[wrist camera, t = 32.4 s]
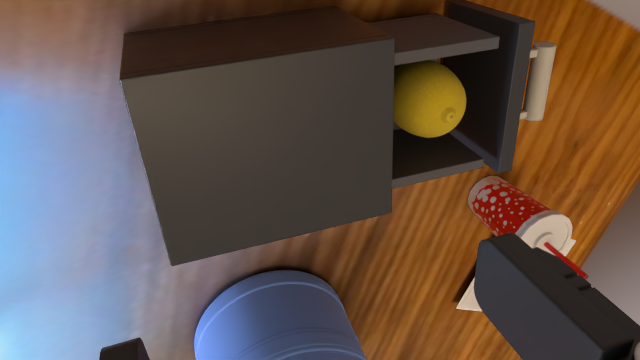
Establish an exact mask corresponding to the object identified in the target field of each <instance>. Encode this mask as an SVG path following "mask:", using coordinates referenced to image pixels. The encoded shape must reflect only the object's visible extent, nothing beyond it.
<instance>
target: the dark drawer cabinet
mask: <svg viewBox="0 0 640 360" xmlns="http://www.w3.org/2000/svg"><path fill="white" fill-rule="evenodd" d="M394 61H395V38H394V37H392V36H390V35H389V34H387V33H385V32H383V31H381V30H379V29H377V28H375V27H374V26H372V25H370V24H368V23H366V22H364V21H362V20H360V19H358V18H356V17H355V16H353V15H351V14H349V13H347V12H345V11H343V10H341V9H339V8H338V7H336V6H332V7H324V8H316V9H309V10H301V11H293V12H286V13H278V14H270V15H262V16H255V17H247V18H239V19H232V20H224V21H216V22H208V23H201V24H193V25H185V26H177V27H170V28H162V29H154V30H147V31H139V32H131V33H124V39H123V49H122V59H121V69H120V80H119V81H120V84H121V88H122V91H123V95H124V98H125V102H126V106H127V109H128V113H129V116H130V120H131V124H132V127H133V131H134V134H135V138H136V142H137V145H138V149H139V152H140V156H141V159H142V163H143V167H144V170H145V174H146V177H147V181H148V185H149V188H150V192H151V195H152V199H153V203H154V206H155V210H156V213H157V217H158V220H159V224H160V228H161V231H162V235H163V238H164V242H165V246H166V249H167V253H168V256H169V260H170V264H171V266H175V265H179V264H183V263H187V262H191V261H195V260H200V259H204V258H208V257H212V256H216V255H220V254H224V253H228V252H232V251H237V250H241V249H245V248H249V247H253V246H257V245H261V244H265V243H269V242H274V241H278V240H282V239H286V238H290V237H294V236H298V235H302V234H306V233H311V232H315V231H319V230H323V229H327V228H331V227H335V226H339V225H343V224H348V223H352V222H356V221H360V220H364V219H368V218H372V217H376V216H380V215H385V214H389V213H391V212H392V166H393V113H394Z"/></svg>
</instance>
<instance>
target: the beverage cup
mask: <svg viewBox="0 0 640 360" xmlns="http://www.w3.org/2000/svg"><path fill="white" fill-rule="evenodd" d="M468 205H469V207H470V209H471V210H472V211H473V212H474V213H475V215H476V216H477V217H478V218H479V219H480V220H481V221H482V222H483V223H484V224H485V225H486V226H487V227H488V229H489V230H490V231H491V232H492V233H493V234H494V235H495V236H499V235H502V234H506V233H514V234H516V235H517V236H519V237H520V238H521V239H522V240H523V241H524V242H525V243H527V244H528V245H529V246H530V247H531V248H535V247H538V248H540V249H542V250H545V251H547V252H549V253H551V254H553V255H555V256H557V257H559V258H560V259H562V260H563V261H564V262H565V263H566V264H567V265H569V266H570V267H571V268H572V269H573V270H574V271H576V273H577V274H578V275H580V276H581V277H583V278H584V279H587V278H588V275H587V274H586V273H585V272H583V271H582V270H581V269H580V268H578V267H577V266H576V265H575V264H574V263H572V262H571V261H570V260H569V259H568V258H566V257H565V256H564V255H563V254H562V253H561V252H562V251H563V250H564V249H565V248H566V246H567V244H568V242H569V240H570V238H571V235H572V224H571V222H570V219H569V218H568V217H566V216H564V215H563V214H561V213H559V212H558V211H556V210H550V209H549V208H547V207H545V206H544V205H542V204H541V203H539V202H538V201H536V200H535V199H533V198H531V197H530V196H528V195H527V194H525V193H524V192H522V191H521V190H519V189H517V188H516V187H514V186H513V185H511V184H510V183H508V182H506V181H505V180H503V179H502V178H500V177H498V176H488V177H485V178H482V179H481V180H480V181H479V182H477V183H476V184H475V185H474V187H473V188H472V189H471V191H470V193H469V196H468Z"/></svg>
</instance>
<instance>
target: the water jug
mask: <svg viewBox="0 0 640 360" xmlns="http://www.w3.org/2000/svg"><path fill="white" fill-rule="evenodd" d="M194 348H195V356H196V360H367V359H366V357H365V355H364V353H363V351H362V349H361V346H360V342H359V340H358V338H357V336H356V334H355V332H354V330H353V328H352V326H351V324H350V322H349V320H348V318H347V316H346V312H345V309H344V307H343V305H342V303H341V301H340V299H339V297H338V295H337V294H336V292H335V291H334V290H333V288H332V287H331V286H330V285H329V284H327V283H326V282H325V281H323V280H322V279H320V278H318V277H316V276H314V275H312V274H309V273H305V272H301V271H294V270H277V271H269V272H264V273H260V274H257V275H254V276H251V277H249V278H246V279H244V280H242V281H240V282H238V283H236V284H234V285H233V286H231V287H230V288H228V289H227V290H225V291H224V292H223V293H222V294H220V295H219V296H218V297H217V298H216V299H215V300H214V301H213V302H212V303H211V304H210V306H209V307H208V308H207V309H206V311H205V312H204V314H203V316H202V317H201V319H200V321H199V324H198V326H197V329H196V333H195V340H194Z"/></svg>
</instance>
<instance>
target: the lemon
mask: <svg viewBox="0 0 640 360" xmlns="http://www.w3.org/2000/svg"><path fill="white" fill-rule="evenodd" d="M465 108H466V94H465V90H464V88H463V86H462V84H461V82H460V80H459V79H458V78H457V76H456V75H455V74H454V73H453V72H452V71H451V70H450V69H448V68H447V67H446V66H444V65H442V64H440V63H437V62H435V61H432V60H425V61H419V62H413V63H407V64H402V65H400V66H399V67H398V68H396V69H395V70H394V113H393V121H394V122H395V123H396V124H397V125H398V126H399V127H400V128H402V129H403V130H405V131H407V132H409V133H411V134H413V135H416V136H421V137H425V138H431V137H438V136H441V135H444V134H446V133H448V132H450V131H451V130H452V129H453V128H455V127H456V126H457V124H458V123H459V122H460V121H461V119H462V117H463V115H464V112H465Z"/></svg>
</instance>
